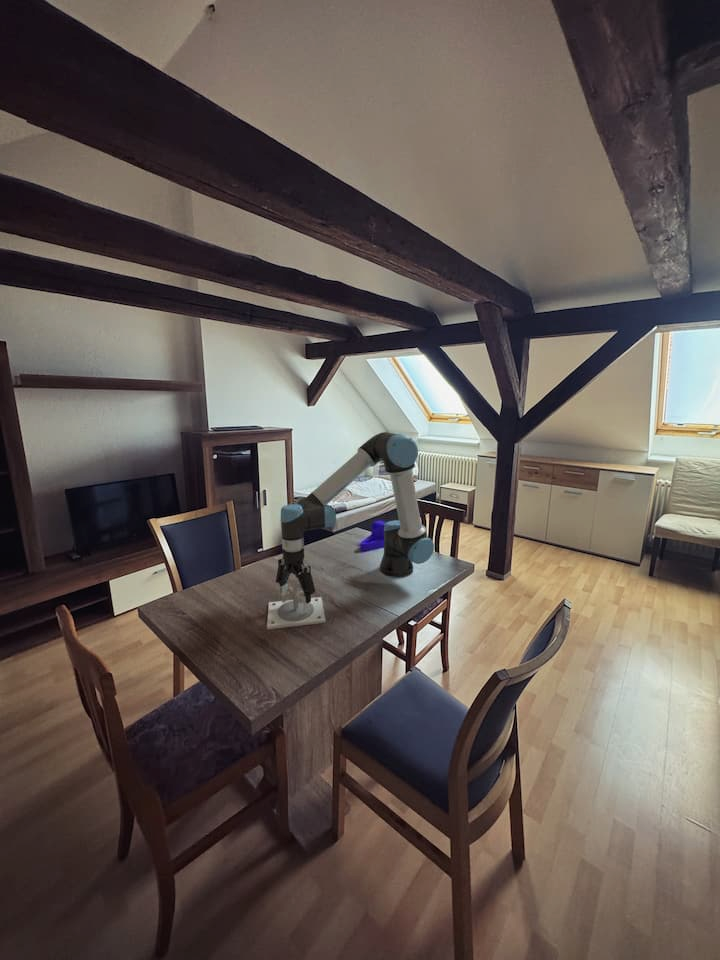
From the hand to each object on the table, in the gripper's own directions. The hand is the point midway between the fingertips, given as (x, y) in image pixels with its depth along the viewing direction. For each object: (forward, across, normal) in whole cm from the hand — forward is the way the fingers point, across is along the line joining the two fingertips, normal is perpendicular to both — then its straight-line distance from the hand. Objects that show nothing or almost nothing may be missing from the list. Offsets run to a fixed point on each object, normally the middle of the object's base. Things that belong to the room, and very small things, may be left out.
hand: (295, 605), depth 138 cm
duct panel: (+3, 0, 0) cm, 3 cm away
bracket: (+4, -11, +69) cm, 70 cm away
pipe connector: (+1, 0, 0) cm, 1 cm away
